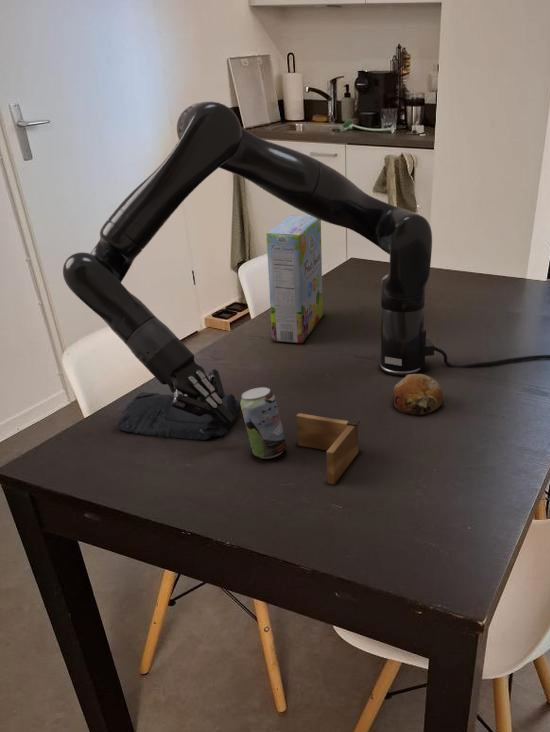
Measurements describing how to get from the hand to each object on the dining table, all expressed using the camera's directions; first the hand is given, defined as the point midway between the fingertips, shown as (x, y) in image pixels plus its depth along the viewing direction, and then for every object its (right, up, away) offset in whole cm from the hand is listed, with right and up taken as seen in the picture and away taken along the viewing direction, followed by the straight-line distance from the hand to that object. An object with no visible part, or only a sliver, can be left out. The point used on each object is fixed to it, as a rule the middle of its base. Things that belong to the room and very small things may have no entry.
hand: (230, 424), depth 122 cm
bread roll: (+34, +5, +16) cm, 38 cm away
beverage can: (+6, -5, +1) cm, 8 cm away
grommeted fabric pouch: (-12, +2, +12) cm, 17 cm away
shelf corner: (+16, -7, -3) cm, 17 cm away
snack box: (+7, +29, +55) cm, 62 cm away
